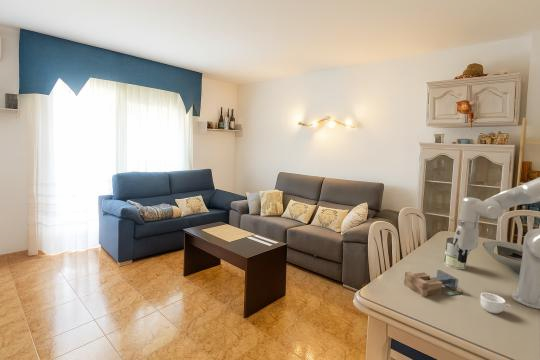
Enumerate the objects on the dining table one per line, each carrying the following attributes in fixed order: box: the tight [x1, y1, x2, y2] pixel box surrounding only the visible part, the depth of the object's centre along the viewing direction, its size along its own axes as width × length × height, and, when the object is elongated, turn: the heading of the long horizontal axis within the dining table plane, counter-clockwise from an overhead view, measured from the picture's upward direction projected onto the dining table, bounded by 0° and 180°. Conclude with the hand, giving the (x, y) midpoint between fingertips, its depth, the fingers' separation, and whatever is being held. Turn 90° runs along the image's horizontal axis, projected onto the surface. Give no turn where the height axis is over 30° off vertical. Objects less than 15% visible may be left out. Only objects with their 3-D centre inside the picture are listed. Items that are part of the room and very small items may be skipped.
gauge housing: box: [403, 271, 463, 298], centre depth 131 cm, size 13×20×6 cm, turn 106°
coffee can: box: [443, 237, 467, 270], centre depth 158 cm, size 10×10×14 cm
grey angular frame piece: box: [428, 269, 462, 292], centre depth 132 cm, size 12×10×5 cm
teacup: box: [479, 292, 513, 314], centre depth 115 cm, size 10×8×5 cm
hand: (461, 261), depth 136 cm, fingers closed
